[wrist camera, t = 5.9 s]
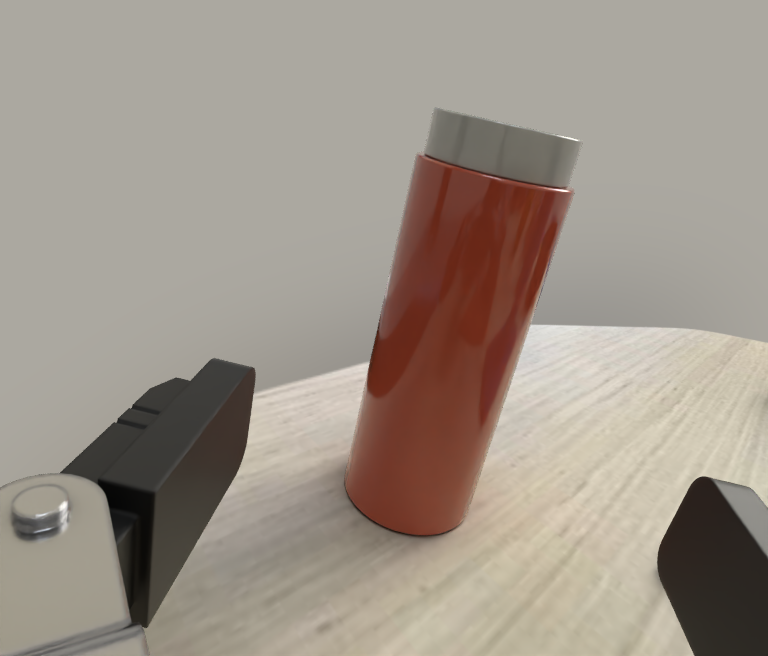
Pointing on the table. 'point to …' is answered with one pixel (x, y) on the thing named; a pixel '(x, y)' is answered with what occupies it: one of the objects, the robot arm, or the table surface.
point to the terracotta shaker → (456, 315)
